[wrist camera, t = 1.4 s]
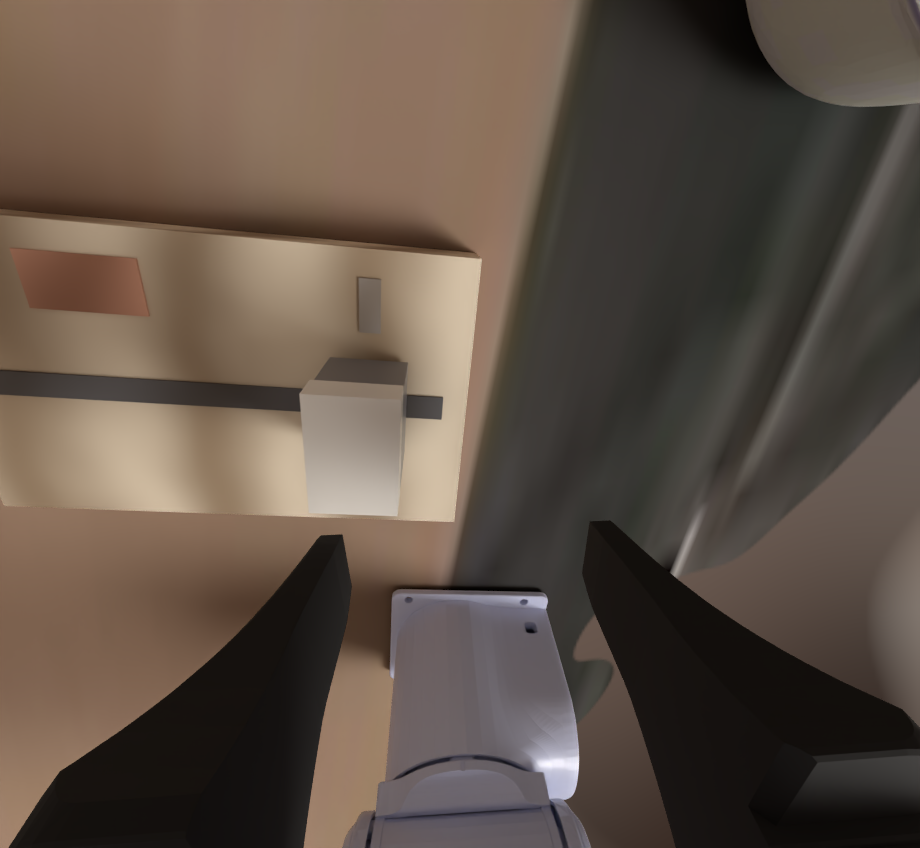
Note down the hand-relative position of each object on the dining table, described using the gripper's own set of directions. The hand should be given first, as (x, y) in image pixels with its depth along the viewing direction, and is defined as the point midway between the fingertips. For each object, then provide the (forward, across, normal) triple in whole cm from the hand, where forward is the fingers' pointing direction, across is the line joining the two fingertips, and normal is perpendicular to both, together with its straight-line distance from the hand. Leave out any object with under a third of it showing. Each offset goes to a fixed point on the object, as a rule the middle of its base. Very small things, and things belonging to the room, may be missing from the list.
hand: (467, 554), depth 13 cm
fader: (+7, +4, -2) cm, 8 cm away
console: (+10, +10, -2) cm, 14 cm away
